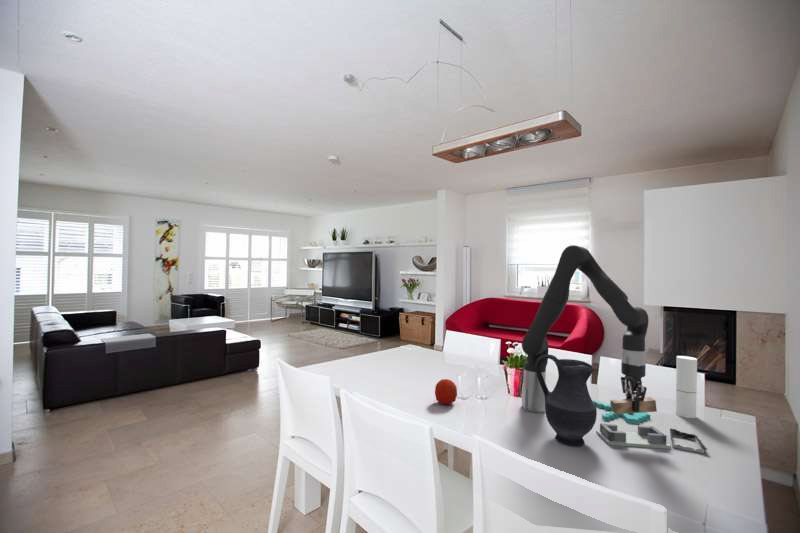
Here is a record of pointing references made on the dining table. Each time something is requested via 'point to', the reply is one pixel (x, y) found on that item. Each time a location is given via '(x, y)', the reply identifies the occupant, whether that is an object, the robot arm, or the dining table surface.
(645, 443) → the cradle board
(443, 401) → the apple
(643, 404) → the slat
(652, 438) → the end caps
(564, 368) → the pitcher
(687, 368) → the cylindrical container
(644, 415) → the alien figure
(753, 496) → the dining table surface
